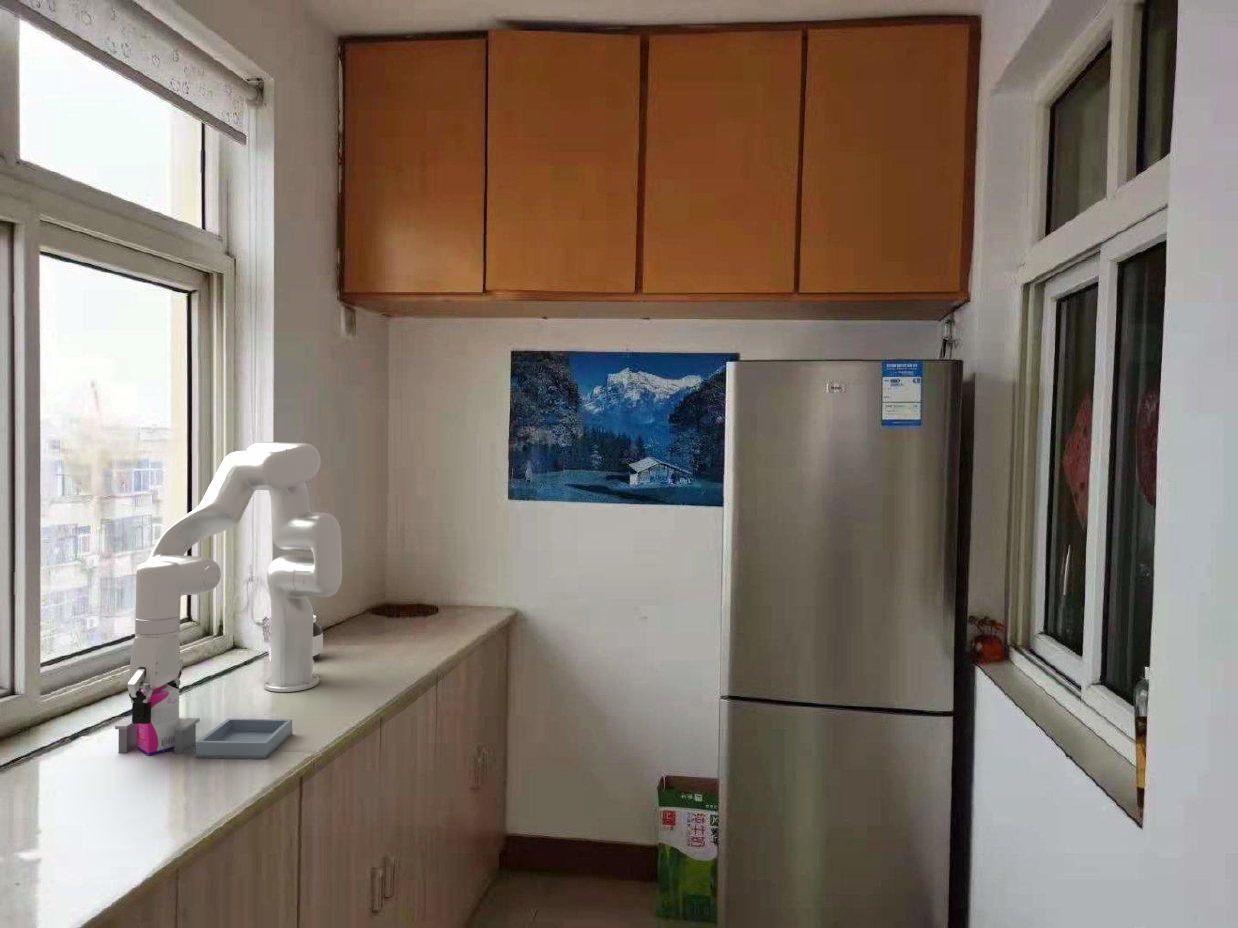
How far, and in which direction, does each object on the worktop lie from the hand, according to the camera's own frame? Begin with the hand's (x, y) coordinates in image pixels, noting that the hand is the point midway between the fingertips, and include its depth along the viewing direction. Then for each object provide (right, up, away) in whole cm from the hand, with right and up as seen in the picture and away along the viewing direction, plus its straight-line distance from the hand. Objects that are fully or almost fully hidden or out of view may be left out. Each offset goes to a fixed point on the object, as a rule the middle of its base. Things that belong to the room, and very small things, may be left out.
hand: (155, 714), depth 156 cm
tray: (+16, -7, +3) cm, 18 cm away
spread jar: (+2, -5, +63) cm, 63 cm away
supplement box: (0, -7, +1) cm, 7 cm away
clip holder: (0, -7, +1) cm, 7 cm away
